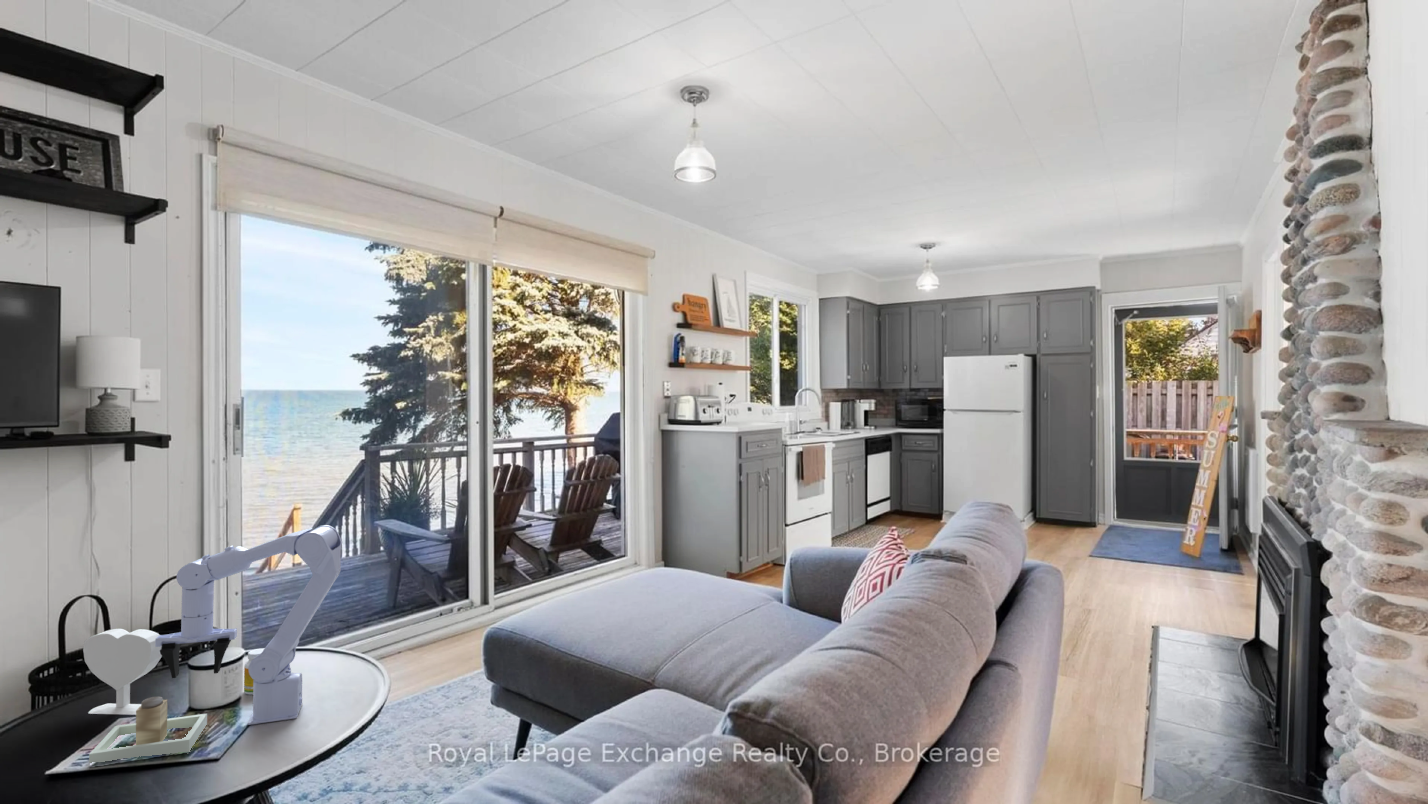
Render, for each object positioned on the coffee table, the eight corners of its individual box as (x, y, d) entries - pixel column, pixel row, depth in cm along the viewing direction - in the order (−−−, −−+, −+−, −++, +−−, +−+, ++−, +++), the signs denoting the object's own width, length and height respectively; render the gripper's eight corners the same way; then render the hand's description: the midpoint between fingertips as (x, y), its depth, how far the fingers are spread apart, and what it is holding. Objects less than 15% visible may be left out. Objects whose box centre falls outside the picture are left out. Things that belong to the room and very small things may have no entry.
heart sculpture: (165, 704, 158) (166, 628, 158) (147, 714, 153) (148, 635, 153) (99, 703, 158) (100, 626, 158) (79, 713, 153) (80, 634, 153)
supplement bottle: (256, 696, 164) (257, 656, 164) (238, 693, 165) (238, 654, 165) (275, 686, 169) (276, 648, 169) (257, 684, 170) (258, 646, 170)
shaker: (166, 736, 143) (167, 694, 143) (159, 745, 139) (160, 702, 139) (143, 740, 141) (143, 697, 141) (135, 749, 138) (136, 705, 138)
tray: (206, 725, 149) (207, 713, 149) (189, 752, 138) (189, 739, 138) (115, 738, 143) (115, 725, 143) (88, 768, 132) (89, 753, 132)
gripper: (150, 622, 145) (149, 685, 145) (231, 615, 150) (230, 676, 151) (162, 612, 151) (161, 672, 151) (239, 606, 157) (238, 664, 157)
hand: (196, 673), depth 151 cm, fingers open, 7 cm apart
